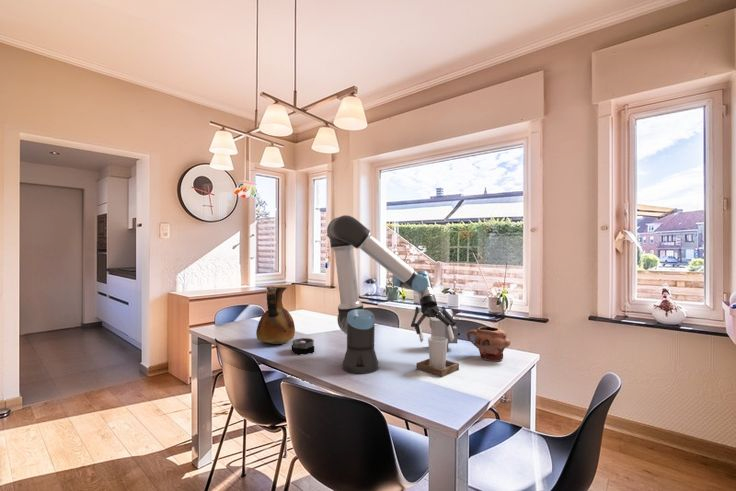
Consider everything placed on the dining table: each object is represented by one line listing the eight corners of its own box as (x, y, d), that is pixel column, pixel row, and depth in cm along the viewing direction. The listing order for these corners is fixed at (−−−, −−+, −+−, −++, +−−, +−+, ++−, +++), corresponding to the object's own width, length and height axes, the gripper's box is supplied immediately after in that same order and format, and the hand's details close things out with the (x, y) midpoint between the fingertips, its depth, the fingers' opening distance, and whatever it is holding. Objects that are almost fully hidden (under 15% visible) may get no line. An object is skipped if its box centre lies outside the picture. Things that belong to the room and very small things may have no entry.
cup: (424, 365, 147) (424, 337, 147) (440, 363, 150) (440, 336, 150) (434, 372, 139) (434, 342, 139) (451, 370, 142) (451, 340, 142)
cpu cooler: (309, 336, 175) (316, 341, 166) (309, 348, 175) (316, 353, 166) (289, 339, 170) (295, 344, 161) (289, 350, 170) (295, 356, 161)
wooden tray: (441, 377, 136) (441, 370, 136) (416, 369, 145) (416, 363, 145) (458, 369, 144) (458, 363, 144) (434, 362, 153) (434, 356, 153)
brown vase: (297, 337, 195) (297, 284, 195) (291, 347, 175) (292, 288, 175) (261, 338, 194) (262, 284, 194) (252, 348, 174) (252, 288, 174)
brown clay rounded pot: (461, 357, 161) (462, 327, 161) (470, 351, 171) (470, 322, 171) (507, 365, 150) (507, 333, 150) (513, 358, 160) (513, 328, 160)
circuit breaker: (460, 351, 171) (460, 320, 171) (431, 350, 171) (431, 320, 171) (457, 346, 178) (457, 317, 179) (429, 346, 179) (429, 317, 179)
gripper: (450, 303, 168) (462, 343, 153) (400, 304, 164) (407, 345, 150) (455, 294, 162) (467, 334, 148) (402, 294, 159) (410, 336, 144)
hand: (437, 340), depth 148 cm, fingers open, 13 cm apart
